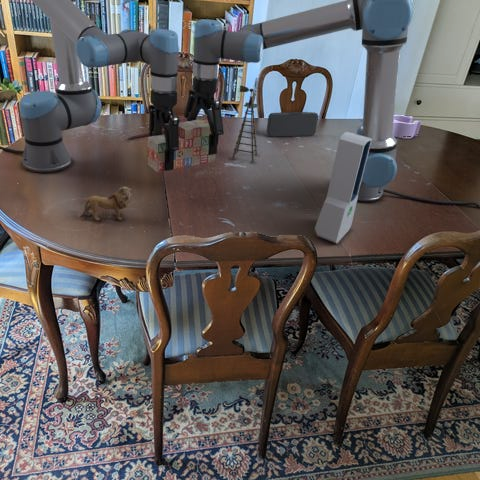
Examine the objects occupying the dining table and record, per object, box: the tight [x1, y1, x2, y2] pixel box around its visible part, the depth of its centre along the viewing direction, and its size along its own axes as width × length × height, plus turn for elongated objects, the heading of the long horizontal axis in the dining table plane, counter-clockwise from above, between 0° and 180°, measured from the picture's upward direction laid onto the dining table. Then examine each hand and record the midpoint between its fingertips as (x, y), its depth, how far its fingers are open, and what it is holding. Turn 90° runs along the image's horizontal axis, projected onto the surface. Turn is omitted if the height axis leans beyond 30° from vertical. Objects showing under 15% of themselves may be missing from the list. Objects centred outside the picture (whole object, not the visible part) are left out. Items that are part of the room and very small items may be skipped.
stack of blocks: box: [147, 118, 217, 173], centre depth 144 cm, size 21×6×12 cm, turn 128°
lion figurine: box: [79, 186, 133, 222], centre depth 132 cm, size 15×5×9 cm, turn 110°
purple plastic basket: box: [392, 114, 422, 139], centre depth 219 cm, size 20×12×7 cm, turn 109°
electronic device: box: [314, 131, 372, 245], centre depth 130 cm, size 12×8×30 cm, turn 148°
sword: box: [128, 130, 164, 140], centre depth 193 cm, size 31×3×1 cm, turn 126°
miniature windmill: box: [231, 77, 259, 163], centre depth 172 cm, size 9×8×30 cm
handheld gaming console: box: [266, 111, 319, 137], centre depth 203 cm, size 23×3×10 cm, turn 108°
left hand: (163, 165), depth 144 cm, fingers closed on stack of blocks, 6 cm apart
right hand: (202, 147), depth 150 cm, fingers open, 11 cm apart
